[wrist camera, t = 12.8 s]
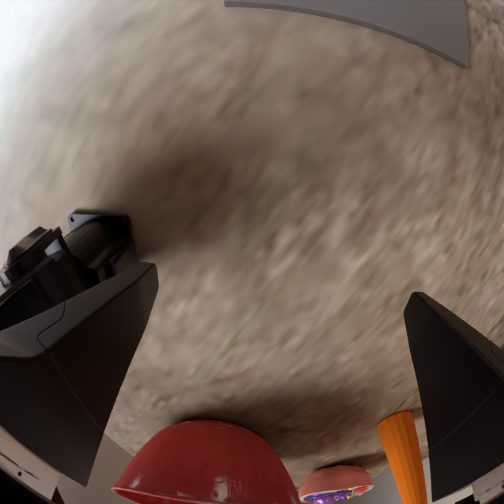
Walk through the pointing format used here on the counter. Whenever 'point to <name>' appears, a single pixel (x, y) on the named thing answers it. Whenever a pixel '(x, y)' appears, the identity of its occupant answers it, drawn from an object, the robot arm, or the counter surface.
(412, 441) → the spray bottle
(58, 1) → the counter surface
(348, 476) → the cell model
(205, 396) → the counter surface
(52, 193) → the counter surface
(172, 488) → the mixing bowl
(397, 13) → the socket board
